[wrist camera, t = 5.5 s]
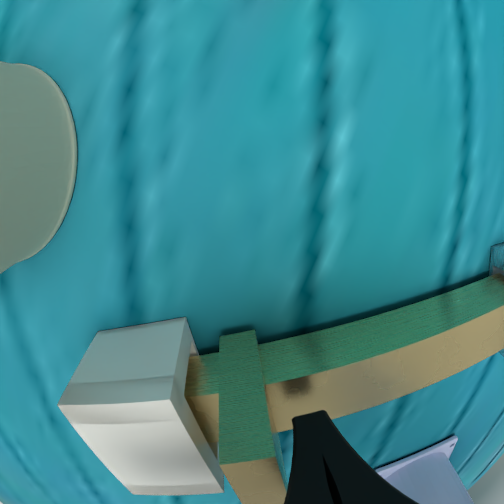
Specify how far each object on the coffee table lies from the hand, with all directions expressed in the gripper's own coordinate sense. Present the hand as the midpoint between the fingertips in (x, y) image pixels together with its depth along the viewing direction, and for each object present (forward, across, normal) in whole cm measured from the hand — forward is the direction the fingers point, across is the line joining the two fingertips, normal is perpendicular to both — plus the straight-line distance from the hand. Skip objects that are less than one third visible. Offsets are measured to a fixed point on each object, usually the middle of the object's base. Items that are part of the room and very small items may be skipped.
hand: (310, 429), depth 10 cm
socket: (+5, +6, 0) cm, 8 cm away
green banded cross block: (+5, -2, 0) cm, 5 cm away
